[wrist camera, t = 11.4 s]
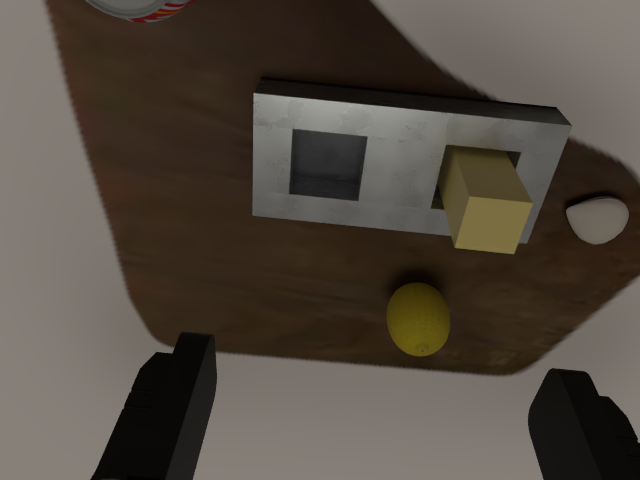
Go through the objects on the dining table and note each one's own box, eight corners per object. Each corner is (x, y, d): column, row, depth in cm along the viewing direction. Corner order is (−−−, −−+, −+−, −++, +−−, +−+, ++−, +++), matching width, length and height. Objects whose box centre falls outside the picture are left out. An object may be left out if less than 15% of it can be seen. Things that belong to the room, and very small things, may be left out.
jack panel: (261, 77, 39) (253, 93, 36) (556, 107, 38) (572, 125, 36) (259, 193, 44) (252, 215, 41) (515, 219, 44) (526, 243, 41)
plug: (448, 137, 40) (469, 196, 32) (500, 142, 40) (533, 203, 32) (435, 191, 43) (451, 257, 35) (484, 196, 43) (510, 263, 35)
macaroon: (599, 238, 45) (610, 255, 43) (547, 222, 44) (556, 238, 42) (630, 197, 43) (644, 213, 41) (576, 179, 42) (587, 195, 40)
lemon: (451, 299, 50) (465, 363, 43) (397, 316, 51) (403, 380, 45) (431, 257, 47) (443, 318, 41) (375, 276, 49) (378, 338, 42)
